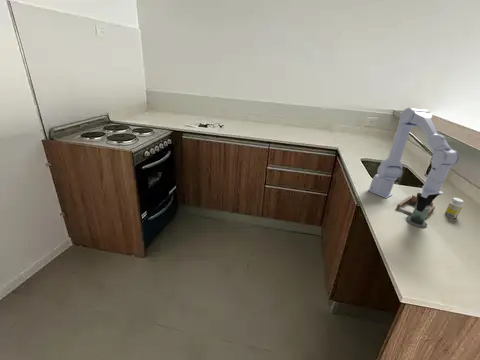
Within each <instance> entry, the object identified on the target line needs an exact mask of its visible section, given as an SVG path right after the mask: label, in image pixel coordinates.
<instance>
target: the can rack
mask: <svg viewBox="0 0 480 360" xmlns="http://www.w3.org/2000/svg"><path fill="white" fill-rule="evenodd" d="M409 203H410V204H412V205H415V206H416V204H417V195H415V194H412V196H408V197H407V198H405V199H404V200H402V201H400V202H398V203H397V205H396V209H395V210H398V211H400V212H402V213H404V214H407V215H408V216H412V213H413V211H409V210H407V209H405V208H404V207H405V206H407V205H408V204H409ZM430 206H431V208H430V210H429V212H428V214H427V216H426V218H428V217H429V216H430V215H431V214H432V213H433V212H434V210H435V209H436V206H434V202H433V201H432V203H431V204H430Z"/></svg>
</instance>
